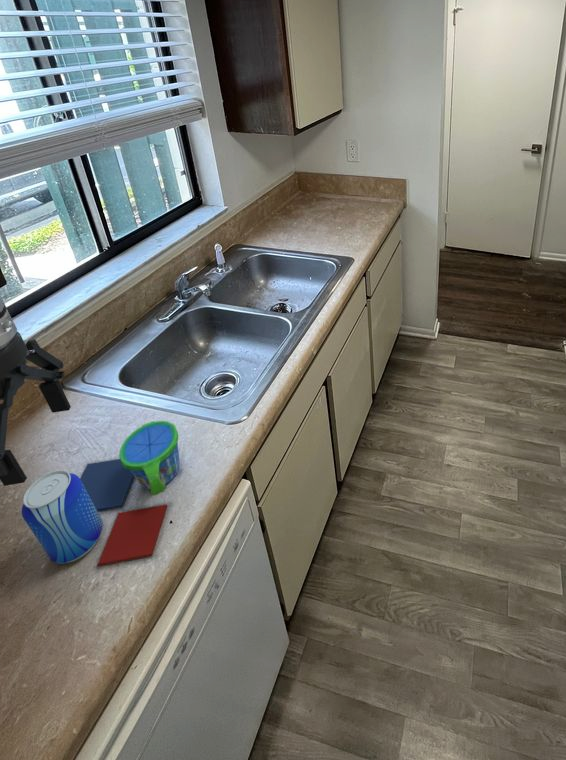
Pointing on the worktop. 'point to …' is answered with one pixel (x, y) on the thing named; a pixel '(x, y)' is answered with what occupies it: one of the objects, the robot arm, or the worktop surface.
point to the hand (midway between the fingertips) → (40, 443)
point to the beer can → (62, 516)
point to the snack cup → (152, 455)
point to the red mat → (133, 535)
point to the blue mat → (107, 483)
